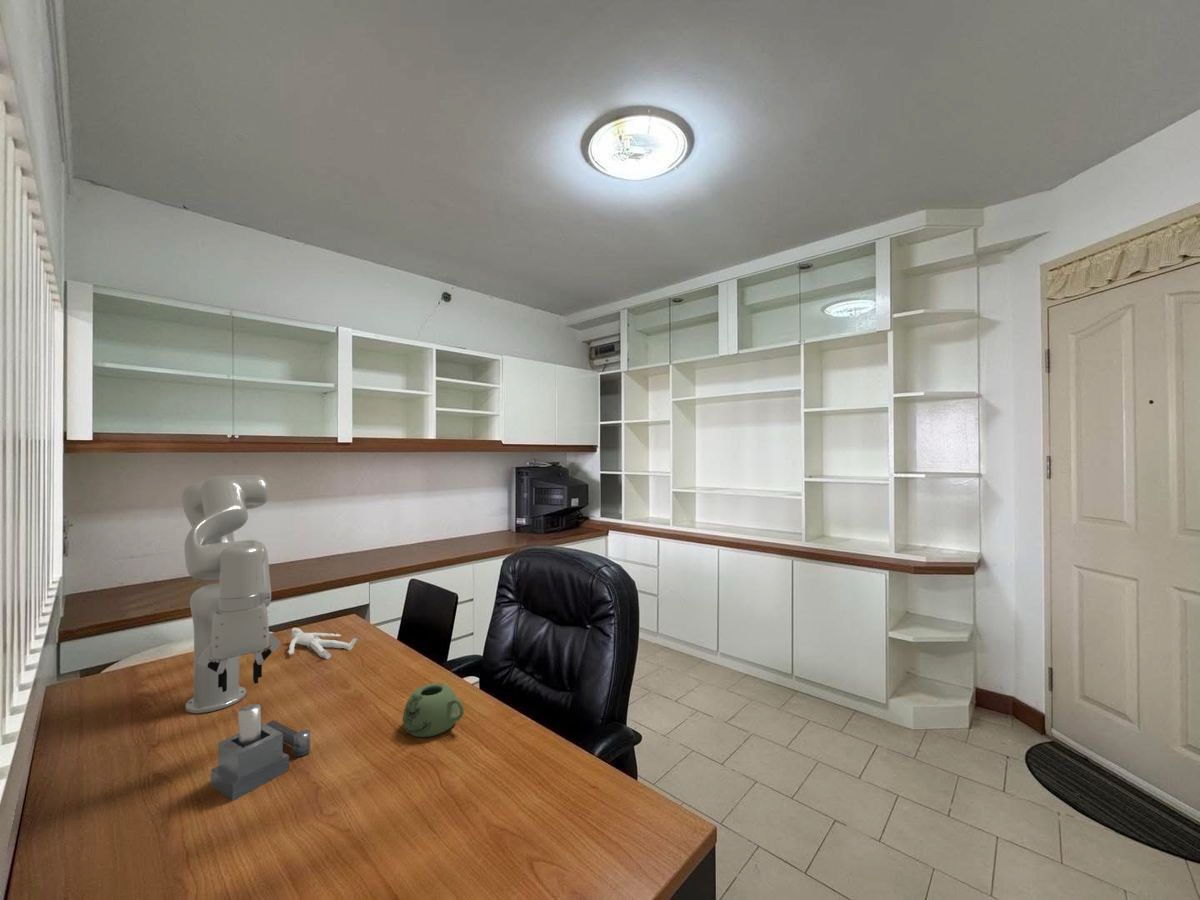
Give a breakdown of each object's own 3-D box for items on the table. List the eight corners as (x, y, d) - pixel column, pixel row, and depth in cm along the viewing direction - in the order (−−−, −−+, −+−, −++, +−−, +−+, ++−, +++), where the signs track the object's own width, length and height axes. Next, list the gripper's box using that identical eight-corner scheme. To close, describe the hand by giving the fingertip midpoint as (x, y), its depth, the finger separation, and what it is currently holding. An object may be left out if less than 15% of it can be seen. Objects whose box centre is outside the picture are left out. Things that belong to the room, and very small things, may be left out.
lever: (260, 737, 109) (260, 719, 109) (274, 730, 111) (274, 713, 111) (298, 758, 101) (298, 739, 101) (312, 750, 103) (313, 732, 104)
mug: (390, 734, 110) (390, 697, 110) (429, 707, 122) (429, 674, 122) (444, 749, 104) (444, 710, 104) (480, 719, 116) (480, 684, 116)
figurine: (311, 671, 148) (264, 648, 158) (363, 649, 165) (317, 629, 175) (313, 654, 148) (266, 632, 158) (364, 634, 165) (318, 615, 175)
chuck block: (210, 785, 93) (211, 744, 93) (266, 757, 102) (266, 720, 102) (232, 800, 89) (233, 758, 89) (288, 770, 97) (289, 731, 97)
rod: (235, 765, 94) (234, 710, 94) (255, 755, 97) (254, 702, 98) (244, 770, 93) (244, 715, 93) (264, 760, 96) (264, 706, 96)
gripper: (284, 591, 112) (284, 668, 111) (190, 606, 100) (189, 691, 100) (289, 598, 106) (288, 679, 105) (189, 615, 95) (188, 705, 94)
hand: (240, 684), depth 103 cm, fingers open, 4 cm apart
